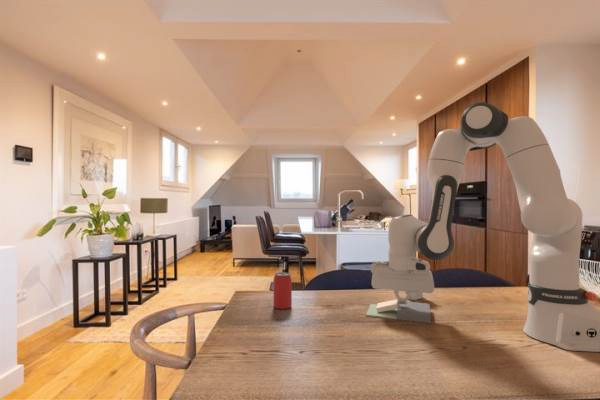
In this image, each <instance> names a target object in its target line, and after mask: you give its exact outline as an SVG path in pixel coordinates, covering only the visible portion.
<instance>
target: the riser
mask: <svg viewBox="0 0 600 400" xmlns="http://www.w3.org/2000/svg"><path fill="white" fill-rule="evenodd" d="M430 307H431V306H430V303H423V302H413V301H407V304H399V306H398V310H397V319H396V320H398V321H399V320H400V321H410V322H418V323H427V324H431V323H432V319H431V318H432V317H431V316H432V315H431V308H430Z"/></svg>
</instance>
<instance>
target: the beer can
mask: <svg viewBox="0 0 600 400" xmlns="http://www.w3.org/2000/svg"><path fill="white" fill-rule="evenodd" d="M292 297H293V296H292V277H291V274H290V273H289V272H283V271H282V272H276V273H274V277H273V308H275V309H276V310H288V309H290V308H291V307H292V305H293V303H292V301H293V300H292Z"/></svg>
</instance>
